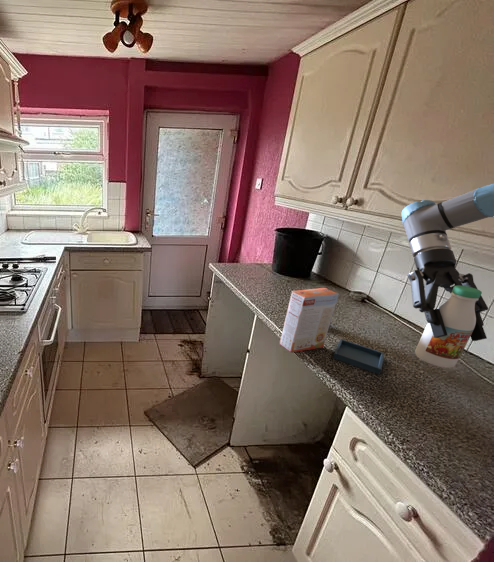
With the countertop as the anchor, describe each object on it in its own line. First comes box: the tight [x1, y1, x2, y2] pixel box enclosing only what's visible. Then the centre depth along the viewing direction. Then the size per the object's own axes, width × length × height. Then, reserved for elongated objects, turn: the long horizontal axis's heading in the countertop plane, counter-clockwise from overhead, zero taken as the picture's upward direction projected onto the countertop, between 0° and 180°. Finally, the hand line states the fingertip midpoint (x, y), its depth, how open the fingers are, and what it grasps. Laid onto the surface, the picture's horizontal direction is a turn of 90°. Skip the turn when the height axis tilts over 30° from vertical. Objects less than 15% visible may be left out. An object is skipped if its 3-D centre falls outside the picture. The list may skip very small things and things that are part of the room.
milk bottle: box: [414, 285, 482, 369], centre depth 77 cm, size 8×8×20 cm
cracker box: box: [279, 287, 340, 353], centre depth 106 cm, size 14×6×21 cm, turn 105°
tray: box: [332, 338, 385, 376], centre depth 104 cm, size 12×12×2 cm
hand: (459, 337), depth 74 cm, fingers closed on milk bottle, 8 cm apart
